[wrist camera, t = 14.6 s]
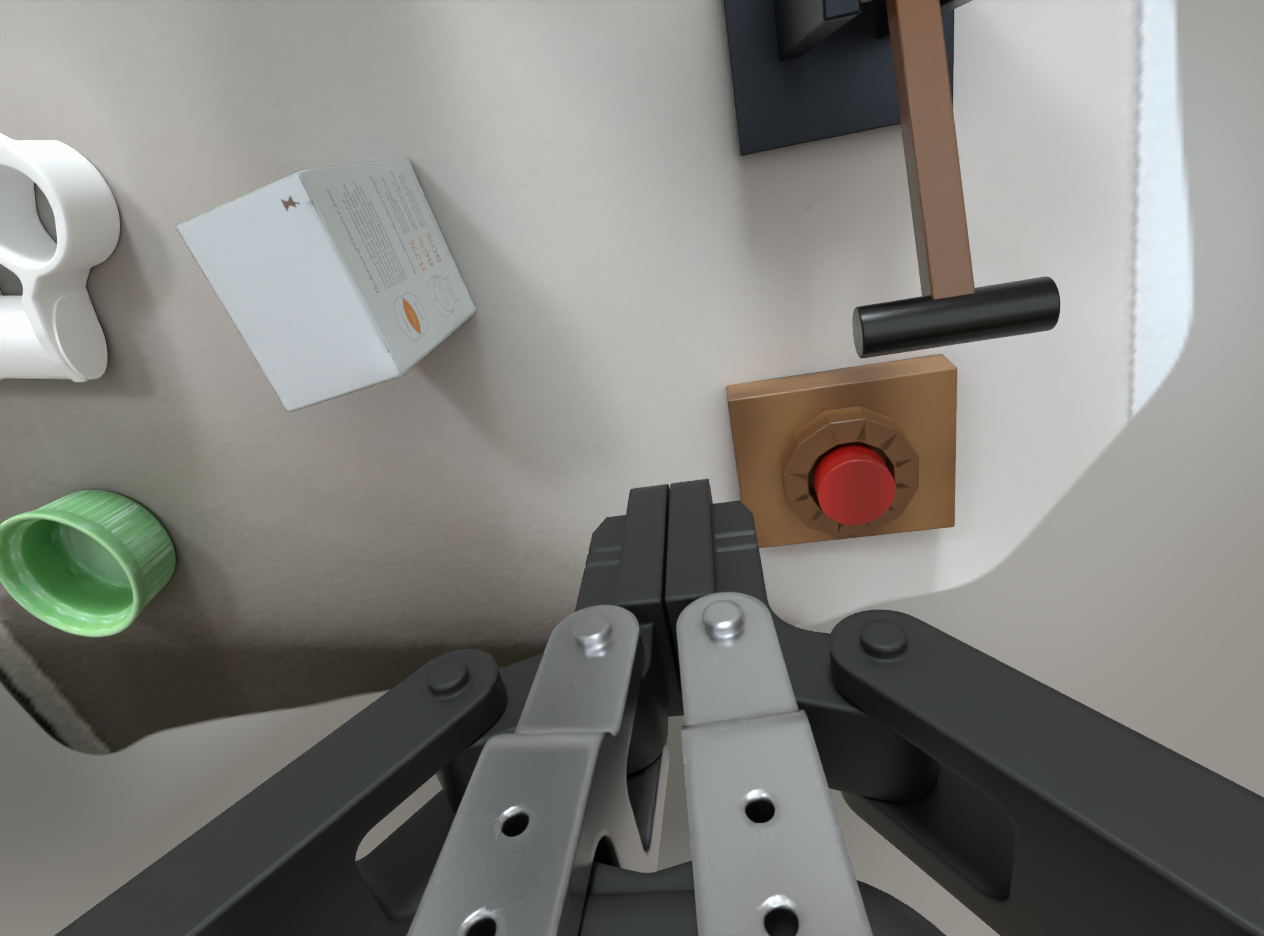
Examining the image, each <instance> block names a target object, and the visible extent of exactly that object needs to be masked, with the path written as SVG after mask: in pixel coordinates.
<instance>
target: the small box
mask: <svg viewBox="0 0 1264 936" xmlns="http://www.w3.org/2000/svg"><path fill="white" fill-rule="evenodd" d="M176 229H177V231H178V232H179V234H180V236H181V237H182V239H183V240H184V242H185V244H186V245H187V247H188V249H189V250H190V252H191V254H192V255H193V257H194V258H195V260H196V262H197V263H198V265H199V267H200V268H201V270H202V272H203V274H204V275H205V277H206V278H207V280H208V281H209V283H210V285H211V286H212V288H213V290H214V291H215V293H216V295H217V296H218V298H219V300H220V301H221V303H222V305H223V306H224V308H225V309H226V311H227V313H228V314H229V316H230V318H231V319H232V321H233V322H234V324H235V326H236V328H237V329H238V331H239V333H240V334H241V336H242V337H243V339H244V341H245V342H246V344H247V346H248V347H249V349H250V351H251V352H252V354H253V356H254V357H255V359H256V361H257V362H258V364H259V366H260V367H261V369H262V371H263V372H264V374H265V376H266V377H267V379H268V381H269V382H270V384H271V385H272V387H273V389H274V390H275V392H276V394H277V396H278V397H279V399H280V401H281V402H282V404H283V406H284V407H285V409H286V411H287V412H293V411H296V410H299V409H302V408H306V407H309V406H312V405H315V404H318V403H321V402H324V401H327V400H331V399H334V398H337V397H340V396H343V395H346V394H349V393H352V392H355V391H358V390H361V389H365V388H368V387H371V386H374V385H377V384H380V383H383V382H386V381H389V380H392V379H395V378H398V377H401V376H403V375H404V374H405V373H407V372H408V371H409V370H410V369H411V368H412V367H413V366H414V365H416V364H417V363H418V362H419V361H420V360H421V359H423V358H424V357H425V356H426V355H427V354H428V353H430V352H431V351H432V350H433V349H434V348H436V347H437V346H438V345H439V344H440V343H441V342H442V341H444V340H445V339H446V338H447V337H448V336H449V335H450V334H452V333H453V332H454V331H455V330H456V329H457V328H458V327H460V326H461V325H462V324H463V323H464V322H465V321H466V320H467V319H469V318H470V317H471V316H472V315H473V314H475V313H476V308H475V306H474V304H473V302H472V299H471V297H470V295H469V293H468V291H467V289H466V286H465V284H464V282H463V280H462V277H461V275H460V273H459V271H458V268H457V266H456V264H455V262H454V260H453V257H452V255H451V253H450V251H449V248H448V246H447V244H446V242H445V239H444V237H443V235H442V233H441V230H440V228H439V226H438V224H437V222H436V219H435V217H434V215H433V213H432V210H431V208H430V206H429V204H428V202H427V200H426V197H425V195H424V193H423V191H422V188H421V186H420V184H419V182H418V179H417V177H416V175H415V173H414V170H413V168H412V166H411V163H410V161H409V160H408V159H407V158H399V159H392V160H384V161H376V162H369V163H360V164H350V165H342V166H331V167H322V168H315V169H307V170H300V171H297V172H295V173H292V174H290V175H288V176H286V177H283V178H281V179H279V180H277V181H274V182H272V183H270V184H268V185H265V186H263V187H261V188H258V189H256V190H254V191H252V192H249V193H247V194H245V195H243V196H240V197H238V198H236V199H234V200H231V201H229V202H227V203H224V204H222V205H220V206H217V207H215V208H213V209H211V210H208V211H206V212H204V213H201V214H199V215H197V216H195V217H192V218H190V219H188V220H185V221H183V222H181V223H179V224H177V225H176Z"/></svg>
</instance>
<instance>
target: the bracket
mask: <svg viewBox="0 0 1264 936" xmlns="http://www.w3.org/2000/svg"><path fill="white" fill-rule="evenodd" d="M970 1H972V0H940V8H941V16H942V25H943V33H944V41H945V49H946V58H947V66H948V74H949V82H950V91H951V99H952V107H953V64H954V9H955V8H957V7H959V6H962V5H964V4H966V3H968V2H970ZM722 5H723V14H724V23H725V32H726V41H727V50H728V59H729V68H730V77H731V86H732V95H733V104H734V113H735V122H736V131H737V141H738V150H739V155H741V156H743V155H748V154H752V153H757V152H762V151H767V150H772V149H777V148H782V147H787V146H792V145H797V144H802V143H807V142H812V141H817V140H822V139H827V138H832V137H837V136H842V135H847V134H852V133H857V132H862V131H867V130H872V129H877V128H882V127H886V126H891V125H896V124H901V120H900V112H899V104H898V95H897V87H896V79H895V71H894V63H893V55H892V47H891V39H890V31H889V22H888V14H887V6H886V0H872V1H867V2H863V3H861V0H722Z"/></svg>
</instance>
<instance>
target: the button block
mask: <svg viewBox="0 0 1264 936" xmlns="http://www.w3.org/2000/svg"><path fill="white" fill-rule="evenodd" d="M726 389H727V399H728V407H729V414H730V422H731V429H732V436H733V444H734V451H735V458H736V466H737V473H738V480H739V488H740V495H741V502H742V504H743V505H744V506H745V507H746V508H747V509H749V510H750V511H751V512H752V513H753V516H754V522H755V528H756V535H757V541H758V547H759V548H762V547H771V546H781V545H790V544H799V543H808V542H818V541H827V540H836V539H845V538H855V537H864V536H873V535H882V534H892V533H901V532H910V531H919V530H929V529H938V528H947V527H954V525H955V467H956V408H957V367H956V366H955V365H953V364H952V363H951V362H950V361H949V360H948V359H947V358H946V357H945V356H944V355H943V354H939V355H932V356H925V357H918V358H912V359H905V360H898V361H891V362H885V363H878V364H871V365H864V366H857V367H851V368H844V369H837V370H830V371H824V372H817V373H810V374H803V375H796V376H790V377H783V378H776V379H769V380H763V381H756V382H749V383H742V384H735V385H729V386H727V387H726ZM847 445H860V446H864V447H867V448H870V449H872V450H873V451H875V452H876V453H878V454H879V455H880V457H881V458H882V459H883V461H884V462H885V464H886V466H887V468H888V470H889V471H890V473H891V475H892V477H893V479H894V483H895V496H894V499H893V502H892V504H891V505H890V507H889V508H888V510H887V511H886V512H885V513H884V514H883V515H881V516H880V517H879V518H877V519H875V520H874V521H871V522H869V523H866V524H861V525H845V524H841V523H838V522H836V521H834V520H832V519H831V518H829V517H828V516H827V515H826V514H825V513H824V512H823V510H822V509H821V507H820V504H819V501H818V498H817V495H816V492H815V489H814V485H813V475H814V471H815V468H816V466H817V464H818V463H819V461H820V460H821V459H822V458H823V457H824V456H825V455H826V454H827V453H829V452H830V451H832V450H834V449H836V448H839V447H842V446H847Z"/></svg>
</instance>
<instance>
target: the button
mask: <svg viewBox="0 0 1264 936" xmlns="http://www.w3.org/2000/svg"><path fill="white" fill-rule="evenodd" d="M813 485H814V489H815V492H816V495H817V498H818V501H819V504H820V507H821V509H822V510H823V512H824V513H825V514H826V515H827V516H828V517H829V518H831V519H832V520H834V521H836V522H838V523H841V524H845V525H861V524H866V523H869V522H871V521H874V520H875V519H877V518H879V517H880V516H881V515H883V514H884V513H885V512H886V511H887V510H888V508H889V507H890V505H891V504H892V502H893V499H894V496H895V483H894V479H893V477H892V475H891V473H890V471H889V470H888V468H887V466H886V464H885V462H884V461H883V459H882V458H881V457H880V455H879V454H878V453H876V452H875V451H873V450H872V449H870V448H867V447H864V446H860V445H847V446H842V447H839V448H836V449H834V450H832V451H830V452H829V453H827V454H826V455H825V456H824V457H823V458H822V459H821V460H820V461H819V463H818V464H817V466H816V468H815V471H814V475H813Z"/></svg>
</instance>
